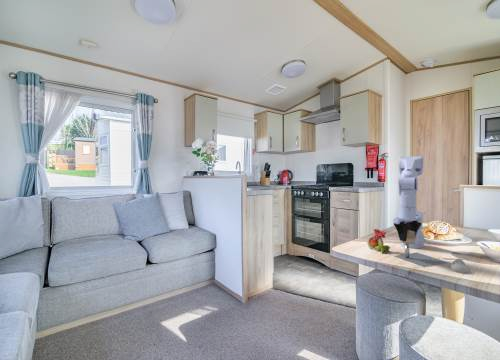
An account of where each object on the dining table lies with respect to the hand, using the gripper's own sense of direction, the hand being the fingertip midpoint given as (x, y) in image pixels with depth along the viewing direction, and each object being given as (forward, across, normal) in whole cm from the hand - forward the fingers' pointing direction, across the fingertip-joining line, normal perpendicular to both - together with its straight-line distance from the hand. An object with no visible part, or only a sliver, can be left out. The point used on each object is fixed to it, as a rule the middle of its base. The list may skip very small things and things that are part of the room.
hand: (407, 239), depth 98 cm
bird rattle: (+9, +2, -12) cm, 15 cm away
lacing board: (+8, -3, +3) cm, 10 cm away
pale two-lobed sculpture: (+9, -5, +16) cm, 19 cm away
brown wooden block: (+1, 0, 0) cm, 1 cm away
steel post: (+7, 0, 0) cm, 7 cm away
